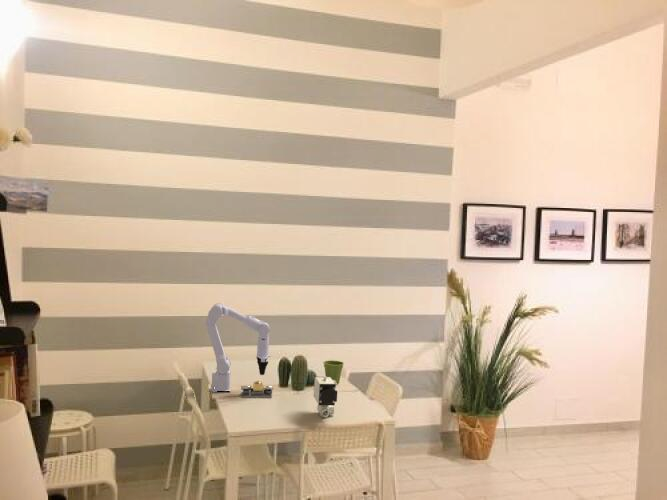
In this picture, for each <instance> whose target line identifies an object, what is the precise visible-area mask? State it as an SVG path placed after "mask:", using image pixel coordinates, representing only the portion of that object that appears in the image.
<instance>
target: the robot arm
mask: <svg viewBox="0 0 667 500" xmlns="http://www.w3.org/2000/svg"><path fill="white" fill-rule="evenodd" d="M206 316H207V317H206V320H205V327H206V331H207V333H208V337H209V340H210V342H211V346H212V349H213V351H214V355H215V362H216V372H213V373H211V375H212V376H211V384H210V388H211V393H218V392H217V391H226V390H229V389H230V390H231V387H230V386H231V373H232V372H231V371H230V368H231V365H232V363H231V360H230V359H229V358H228V357H227V354H226V353H225V349H224V346H223V343H222V340H221V337H220V333H219V330H218V327H217V322H218V320H219V319H220V318H221V317H222V316H223V317H231V318H234V319H236V320H238V321H240V322H242V323H243V324H244V326H245V327H246V328H248V329H251V330H253V331H255V332H257V333H258V336H257V346H256V350H257V351H256V360H257V361H256V362H257V365H258V371H259V375H260V376H264V375H265V374H266V370H267V366H268V364H269V361H267V360H268V358H271V354H269V349H270V347H269V346H270V337H269V336H270V332H271V330H270V325H269V324H268V323H267V322H266V321H264V320H262V319H261V320H259V319H258V318H256V317H255V315H252V316H251V315H249V316H247V315H245V314H243V313H242V312H241V313H240V312H238V311H237V310H235V309H233V308H232V307H229V306H228V305H223V304H222V303H218V302H217V303H214V304H213V306H212V307H211V308H210V310H209V311H208V313H207V315H206ZM214 387H215V389H214Z"/></svg>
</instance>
